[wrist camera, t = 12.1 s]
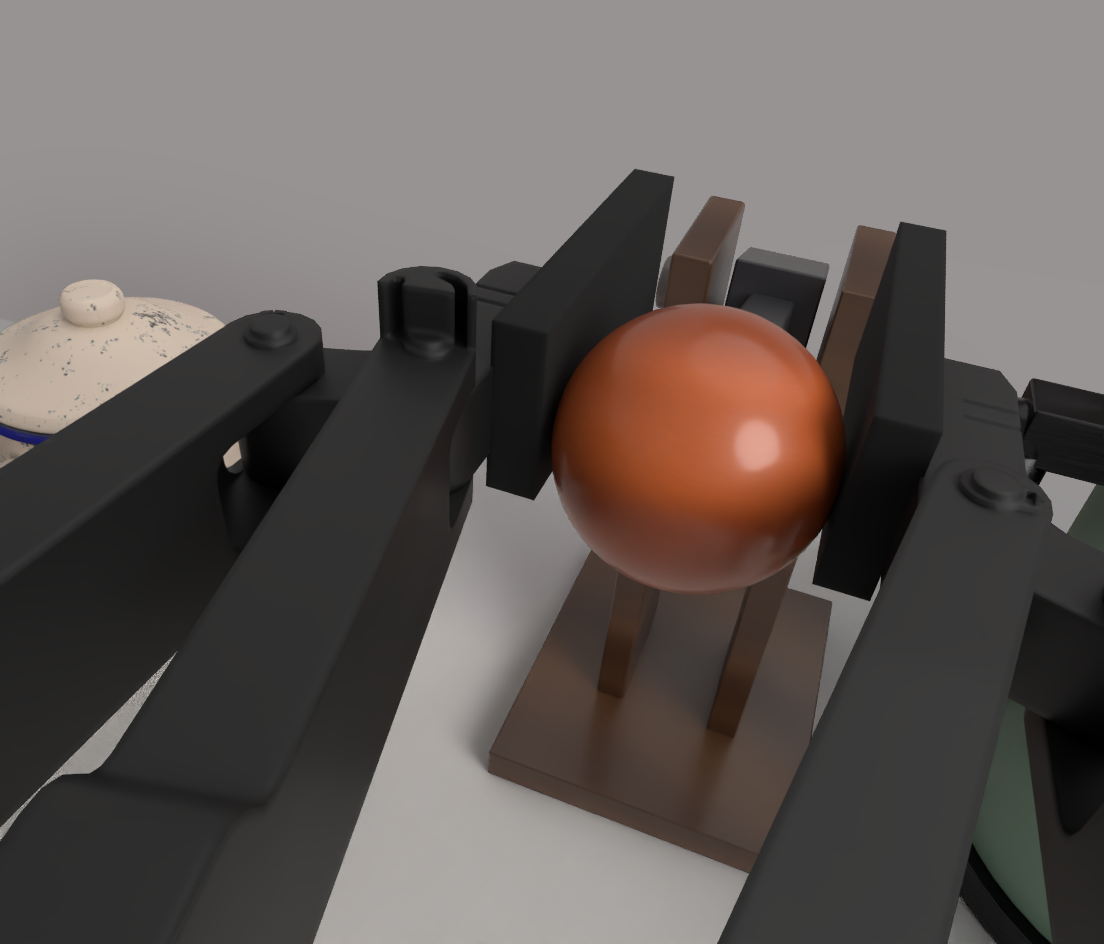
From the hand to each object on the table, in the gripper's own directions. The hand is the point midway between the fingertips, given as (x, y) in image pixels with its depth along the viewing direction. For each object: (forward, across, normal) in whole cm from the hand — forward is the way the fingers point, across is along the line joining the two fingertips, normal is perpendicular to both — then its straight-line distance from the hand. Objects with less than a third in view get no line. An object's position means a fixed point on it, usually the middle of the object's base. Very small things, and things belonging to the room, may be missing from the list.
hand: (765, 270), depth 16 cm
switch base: (+6, 0, -20) cm, 20 cm away
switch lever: (-1, 0, -4) cm, 4 cm away
